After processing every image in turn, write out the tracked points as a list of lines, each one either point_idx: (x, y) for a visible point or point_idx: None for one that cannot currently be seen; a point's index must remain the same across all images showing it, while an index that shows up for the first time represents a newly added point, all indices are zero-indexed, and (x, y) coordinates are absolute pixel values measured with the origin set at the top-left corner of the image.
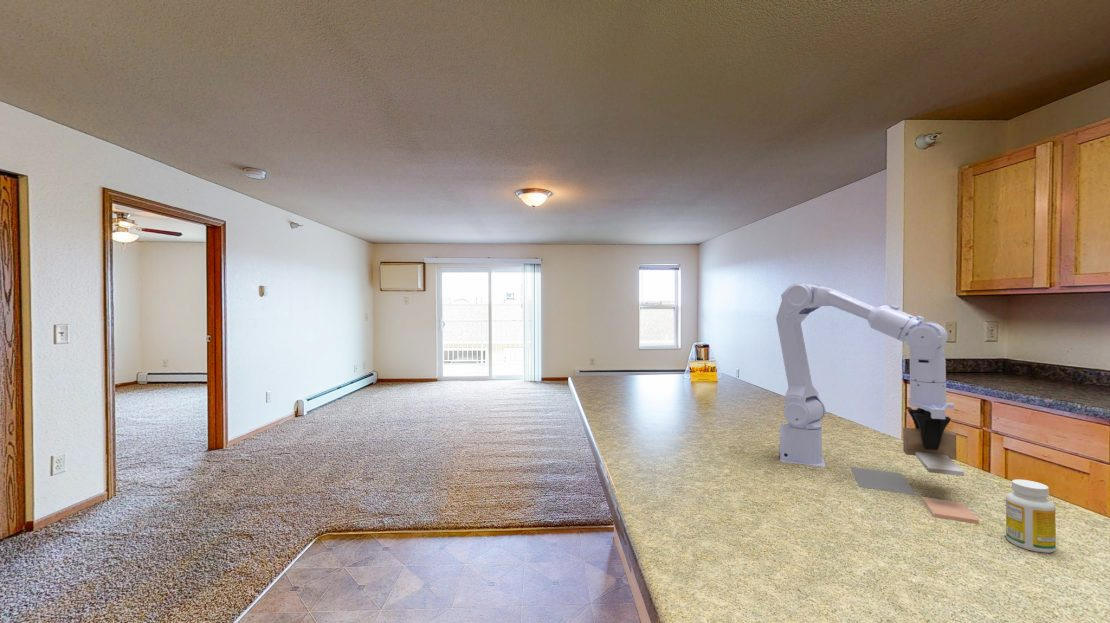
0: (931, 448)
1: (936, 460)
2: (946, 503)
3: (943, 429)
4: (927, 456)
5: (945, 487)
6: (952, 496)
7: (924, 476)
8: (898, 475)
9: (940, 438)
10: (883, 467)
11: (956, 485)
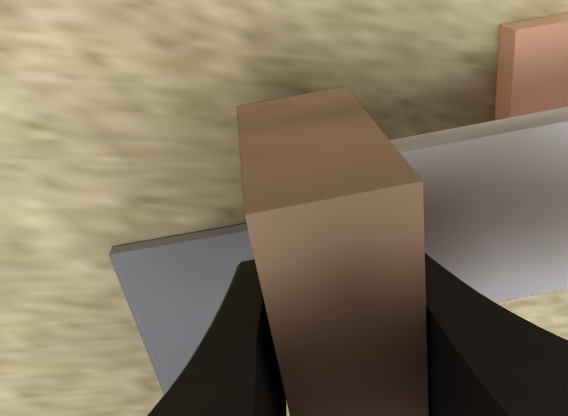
0: None
1: (542, 221)
2: (555, 100)
3: (562, 345)
4: (465, 267)
5: (170, 72)
6: (316, 52)
7: (29, 156)
8: (165, 262)
9: (463, 285)
10: (20, 310)
11: (83, 14)
